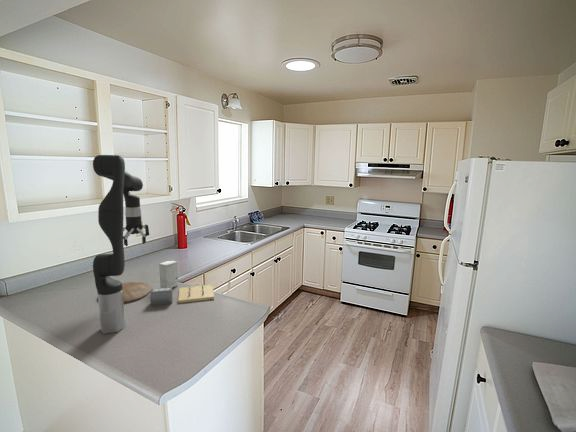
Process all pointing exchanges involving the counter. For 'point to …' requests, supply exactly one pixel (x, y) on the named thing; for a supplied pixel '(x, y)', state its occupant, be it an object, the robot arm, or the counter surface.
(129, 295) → the trivet
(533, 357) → the counter surface
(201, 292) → the yellow peg board
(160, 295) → the grey rectangular block
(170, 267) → the skincare box
